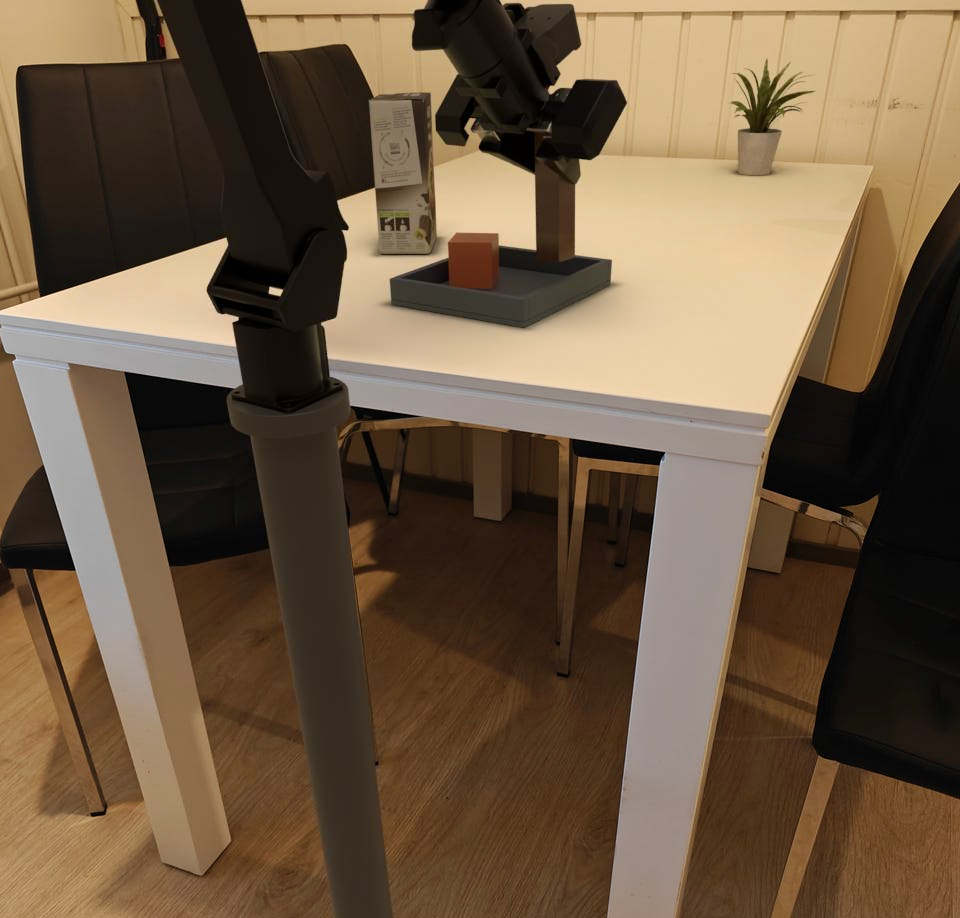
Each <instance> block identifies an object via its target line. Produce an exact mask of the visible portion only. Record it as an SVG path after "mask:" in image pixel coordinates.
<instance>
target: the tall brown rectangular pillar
mask: <svg viewBox="0 0 960 918" xmlns="http://www.w3.org/2000/svg"><path fill="white" fill-rule="evenodd" d="M543 133H544V132H534V145H535V154H536V152H537V150H538V148H539V147H540V145H541V143H542V141H543V139H544V137H543V136H542V135H543ZM534 189H535V190H534V195H535V196H534V197H535V199H534V201H535V250H536V260H538V261H550V262H562V261H565V260H568V259H572V258H575V255H576V184H572V183H570V182H568V181H567V180H565V179H564V178H562V177H561V176H560V175H558V174H557V173H556V172H554V171H553V170H552V169H550V168H549V167H548V166H546V165H545V164H543V163H542V162H541V161H539V160H538V159H537V158H535V175H534Z"/></svg>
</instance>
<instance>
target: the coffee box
mask: <svg viewBox="0 0 960 918" xmlns="http://www.w3.org/2000/svg"><path fill="white" fill-rule="evenodd" d="M368 108H369V122H370V134H371V135H370V137H371V151H372V167H373V179H374V193H375V206H376V219H377V233H378V247H379V250H378V251H379V254H381V255H383V254H384V255H385V254H386V255H387V254H390V255H391V254H392V255H393V254H394V255H395V254H398V255H400V254H401V255H402V254H408V255H409V254H410V255H411V254H412V255H413V254H414V255H415V254H417V255H428V254H430V253H432V252H431V251H432V249H433V247H434V245H435V243H436V241H437V238H438V233H437V232H438V230H437V228H438V227H437V207H436V206H437V205H436V186H435V185H436V184H435V183H436V182H435V164H434V141H433V139H434V138H433V117H432V114H433V113H432V93H431V92H421V91H419V92H400V93H398V92H397V93H392V94H386V93H385V94H384V93H383V94H378V95H376V96H374V97H372V98H371V99H368Z"/></svg>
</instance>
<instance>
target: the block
mask: <svg viewBox="0 0 960 918" xmlns="http://www.w3.org/2000/svg"><path fill="white" fill-rule="evenodd" d="M499 245H500V234H499V233H498V232H455V234H454V235H453V236H452V237H451V238H450V239H449V240H448V241H447V254H448V255H447V258H448V259H449V286H455V287H461V288H467V289H493V287H494V286H495V284H496V282H497V281H498V279H499Z"/></svg>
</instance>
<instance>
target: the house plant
mask: <svg viewBox="0 0 960 918" xmlns="http://www.w3.org/2000/svg"><path fill="white" fill-rule="evenodd" d="M791 63H792V61H790V62H788V63H787V64H786V65H785V66H784V67H783V68H782V69H781V70H780V71H779V73H778V74H777V75H775V76H774V77H773V79H772V81H771V78H770V71H769V69H768V68H769V59H768V58H766V59H765V61H764V66H763V71H762V77H761V80H760V84H759V80H758V78H757V75H756V74H755V72H754V71H753V70H752V69H750V68H746V67H744V68H743V70H747V71H749V72H751V74H752V75H753V78H754V80H755V84H756V89H757V90H756V91H757V94H756V95H755V92H754V89H753V86H752V84H751V82H750V81H749V79H748V78H747V76H745V75H744V74H742V73H740V72H732V74H733V75H737V76H738V77H739V78H740V79H741V81H742V83H743V84H744V87H745V88H746V91H747V93H748V97H749V99H748V97H747V95H746V92H745V91H744V89H743V88H742V86H741V84H740V82H739V81H738V80H737V79H735V82H736V83H737V84H738V87H740V90H741V91H742V93H743V95H744V96H745V100H746V101H747V104H748V107H747V106H746V105H745V104H743V103H742V102H741V101H739V100H734V101H733V100H732V101H731V102H729V104H731V105H734V106H736V108H735V111H734V114H735V116H734V118H733V119H735V118H737V117H739V116H742V117H744V118H745V120H746V122H747V124H748V125H749V127H747V128H740V129H737V173H738V174H739V175H744V176H745V175H746V176H765V175H769V174H770V173H771V170H772V166H773V163H774V159H775V156H776V153H777V150H778V146H779V143H780V140H781V136H782V131H783V130H781V129H777V128H770V127H771V124H772V123H773V122H774V121H775V120H776V119H777V118H778V117H779V116H780V115H781V116H782V117H783V119H785V114H786V113H787V112H791V111H795V112H799V113H802V115H804V112H803V110H802V108H800V107H799V106H798V105H799V104H805V103H808V101H807V102H797V103H795V104H794V105H786V106H783V105H784V104H786V103H787V102H789V101H791V100H794V99H796V98H799V97H801V96H803V95H807V94H808V95H809V94H812V93H815V92H816V90H804V91H803V90H802V91H796V92H792V93H789V94H786V92H788V90H789V89H790V88H791V87H793V86H794V85H796V84H798V83H806V80H805V81H804V80H803V81H797V80H799V79H802V78H805V77H810V76H812V74H809V75H804V76H801V77H798V76H799V75H801V74H802V73H803V71H800V72H798V73H796V74H794V75H793V76H791V77H790V78H788V79H787V80H786V81H785V82H784V84H782V85H781V87H780V88H779V89H778V90H777V92H775V90H776V89H777V85H778V83H779V81H780V79H781V78H782V76H783V75H785V71H786V70H787V69H788V67H789V66H790V64H791ZM814 75H816V74H814ZM796 77H798V78H796ZM795 81H796V82H795ZM793 82H794V83H793ZM792 83H793V84H792ZM791 84H792V85H791ZM786 89H787V90H786ZM774 93H775V94H774ZM773 94H774V96H773ZM784 94H786V95H784ZM781 95H782V96H781ZM756 98H757V99H756ZM782 106H783V107H782ZM786 108H788V109H786ZM742 111H743V112H744V114H736V113H738V112H742Z"/></svg>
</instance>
